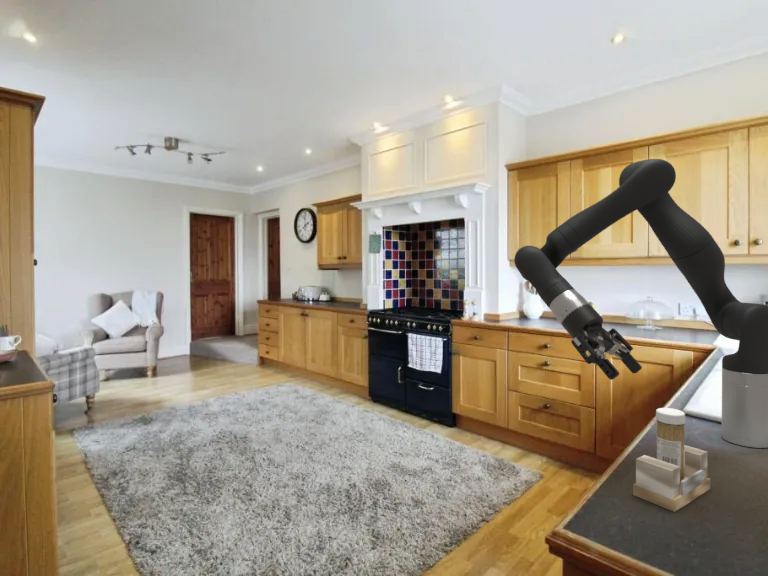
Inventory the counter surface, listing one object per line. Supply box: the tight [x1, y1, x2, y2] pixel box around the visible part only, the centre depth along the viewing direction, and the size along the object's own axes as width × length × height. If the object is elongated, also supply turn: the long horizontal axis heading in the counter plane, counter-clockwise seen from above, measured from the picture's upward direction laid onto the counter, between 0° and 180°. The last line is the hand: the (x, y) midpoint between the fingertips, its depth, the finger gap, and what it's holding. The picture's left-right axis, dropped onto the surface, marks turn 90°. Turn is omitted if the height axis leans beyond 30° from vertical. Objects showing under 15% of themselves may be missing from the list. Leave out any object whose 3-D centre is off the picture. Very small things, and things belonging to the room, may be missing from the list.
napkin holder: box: [632, 444, 711, 513], centre depth 81 cm, size 14×7×7 cm, turn 122°
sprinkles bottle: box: [655, 407, 686, 486], centre depth 81 cm, size 5×5×14 cm
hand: (627, 374), depth 88 cm, fingers open, 8 cm apart
